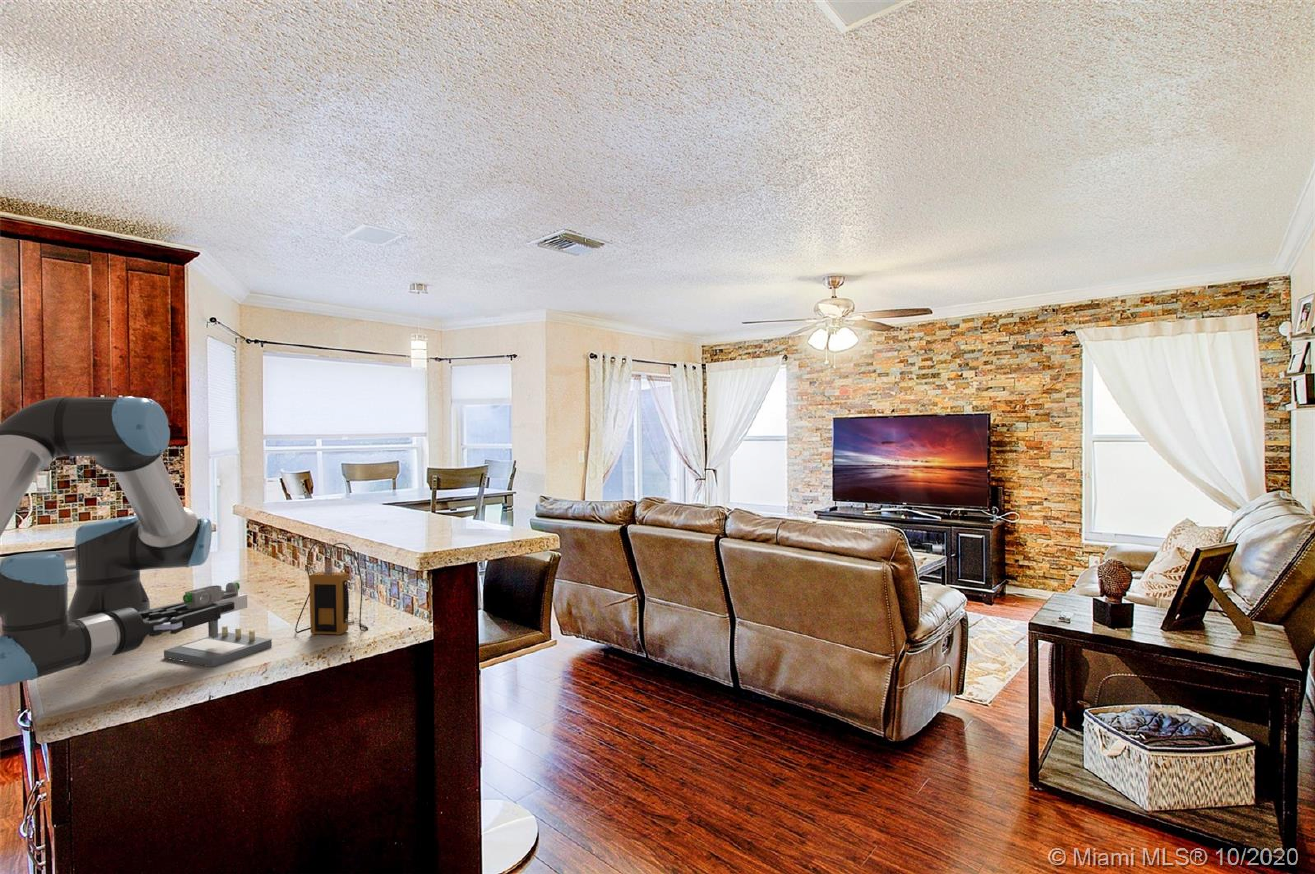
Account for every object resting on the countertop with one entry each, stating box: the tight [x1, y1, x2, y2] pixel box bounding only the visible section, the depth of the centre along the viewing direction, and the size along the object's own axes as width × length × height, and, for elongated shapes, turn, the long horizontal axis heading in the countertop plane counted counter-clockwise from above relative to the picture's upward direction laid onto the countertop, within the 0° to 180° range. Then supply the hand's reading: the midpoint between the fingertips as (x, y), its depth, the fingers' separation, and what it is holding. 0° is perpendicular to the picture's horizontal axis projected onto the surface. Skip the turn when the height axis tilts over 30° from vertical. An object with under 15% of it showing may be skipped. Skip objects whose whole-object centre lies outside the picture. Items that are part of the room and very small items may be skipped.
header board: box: [163, 625, 273, 668], centre depth 129 cm, size 14×12×4 cm
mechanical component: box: [182, 581, 241, 638], centre depth 128 cm, size 3×10×10 cm, turn 160°
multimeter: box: [294, 541, 369, 636], centre depth 144 cm, size 15×10×20 cm
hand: (239, 600), depth 133 cm, fingers closed on mechanical component, 3 cm apart
